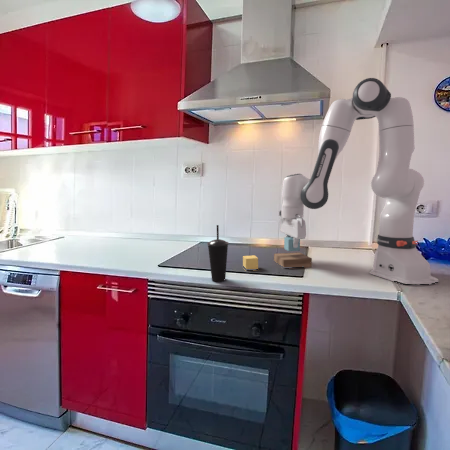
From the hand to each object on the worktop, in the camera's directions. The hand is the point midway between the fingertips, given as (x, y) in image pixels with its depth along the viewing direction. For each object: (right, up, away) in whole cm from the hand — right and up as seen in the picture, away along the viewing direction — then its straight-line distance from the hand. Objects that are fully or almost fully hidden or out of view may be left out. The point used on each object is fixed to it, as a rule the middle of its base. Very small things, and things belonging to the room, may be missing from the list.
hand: (292, 246), depth 135 cm
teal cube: (0, -2, 0) cm, 2 cm away
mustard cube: (-18, -9, -5) cm, 21 cm away
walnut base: (0, -8, +1) cm, 8 cm away
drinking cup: (-31, -11, -20) cm, 38 cm away
